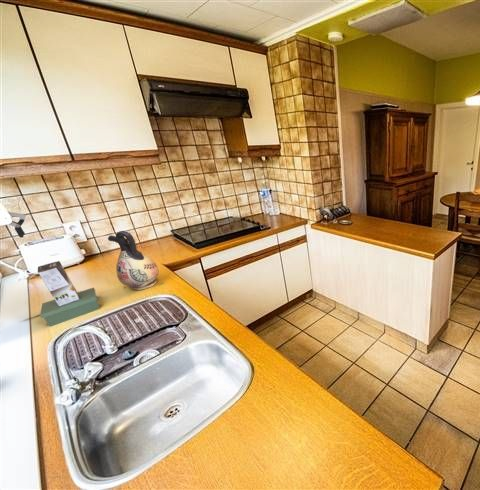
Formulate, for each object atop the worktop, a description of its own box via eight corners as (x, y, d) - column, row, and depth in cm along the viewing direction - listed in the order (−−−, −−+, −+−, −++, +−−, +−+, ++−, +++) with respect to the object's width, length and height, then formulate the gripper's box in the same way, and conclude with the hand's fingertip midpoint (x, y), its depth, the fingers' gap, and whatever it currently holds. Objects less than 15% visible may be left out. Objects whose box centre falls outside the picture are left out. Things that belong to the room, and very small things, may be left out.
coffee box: (80, 299, 113) (61, 266, 107) (58, 306, 109) (37, 272, 102) (77, 292, 118) (59, 260, 112) (57, 299, 114) (36, 266, 108)
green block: (47, 327, 106) (39, 315, 104) (49, 314, 114) (42, 303, 112) (101, 308, 117) (95, 296, 114) (99, 298, 124) (93, 287, 122)
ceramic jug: (116, 292, 128) (87, 235, 116) (147, 276, 142) (124, 224, 130) (143, 296, 124) (116, 236, 112) (172, 279, 138) (151, 225, 126)
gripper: (-73, 203, 87) (-38, 250, 94) (10, 193, 98) (35, 236, 105) (-65, 200, 92) (-33, 245, 98) (13, 191, 103) (37, 232, 110)
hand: (2, 240), depth 102 cm, fingers open, 9 cm apart
